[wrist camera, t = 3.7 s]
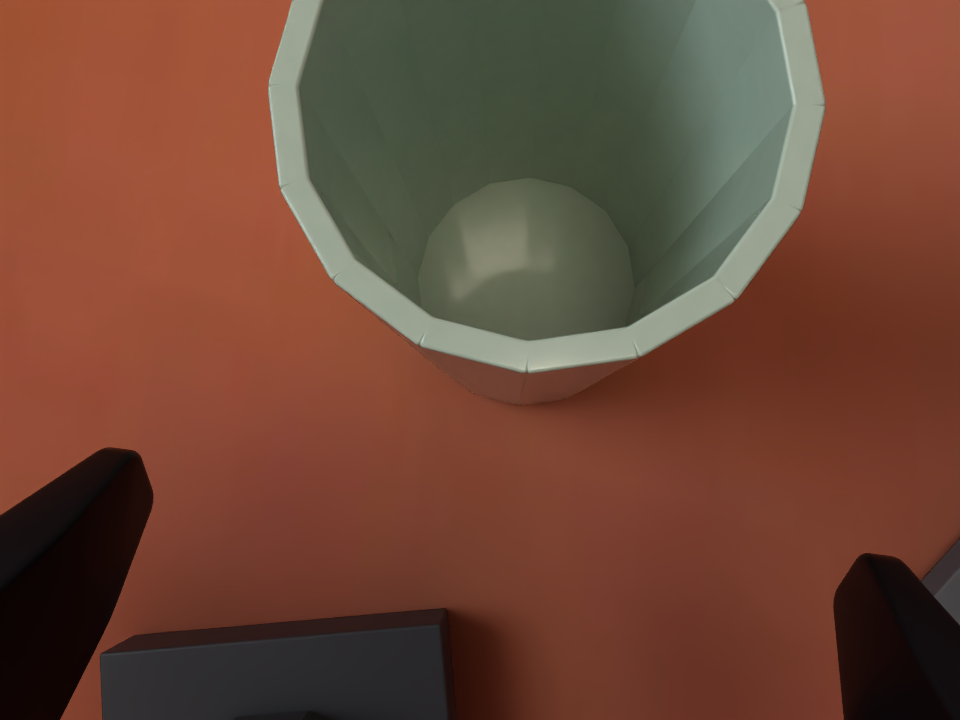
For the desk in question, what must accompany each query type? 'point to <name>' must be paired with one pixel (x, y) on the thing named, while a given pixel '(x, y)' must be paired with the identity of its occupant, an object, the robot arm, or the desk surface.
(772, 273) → the desk surface
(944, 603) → the coffee maker
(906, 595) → the robot arm
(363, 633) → the button pad
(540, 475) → the desk surface
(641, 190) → the cup
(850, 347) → the desk surface
